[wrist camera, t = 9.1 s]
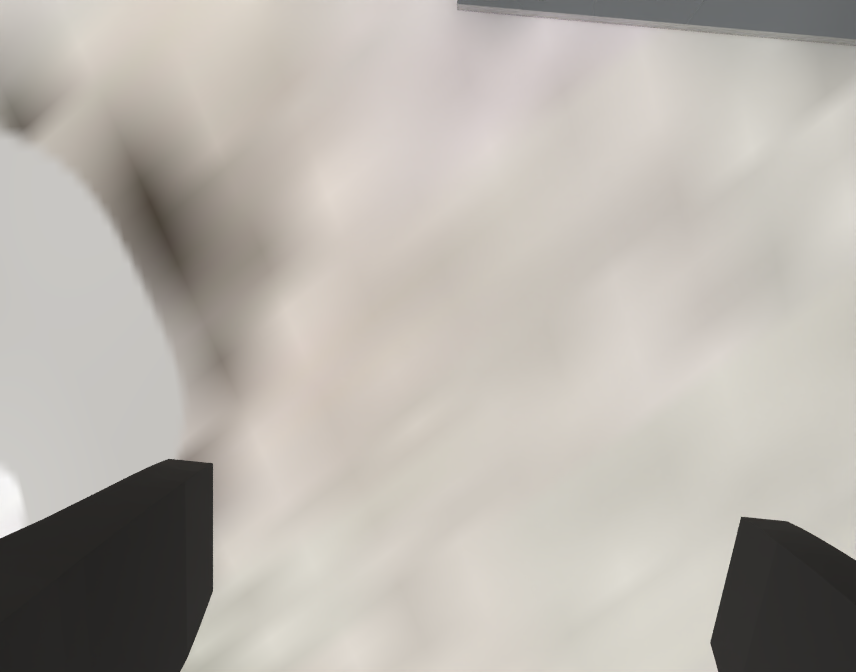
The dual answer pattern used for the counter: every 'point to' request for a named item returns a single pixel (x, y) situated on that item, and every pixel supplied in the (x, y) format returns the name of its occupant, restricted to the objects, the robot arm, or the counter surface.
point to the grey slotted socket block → (699, 15)
